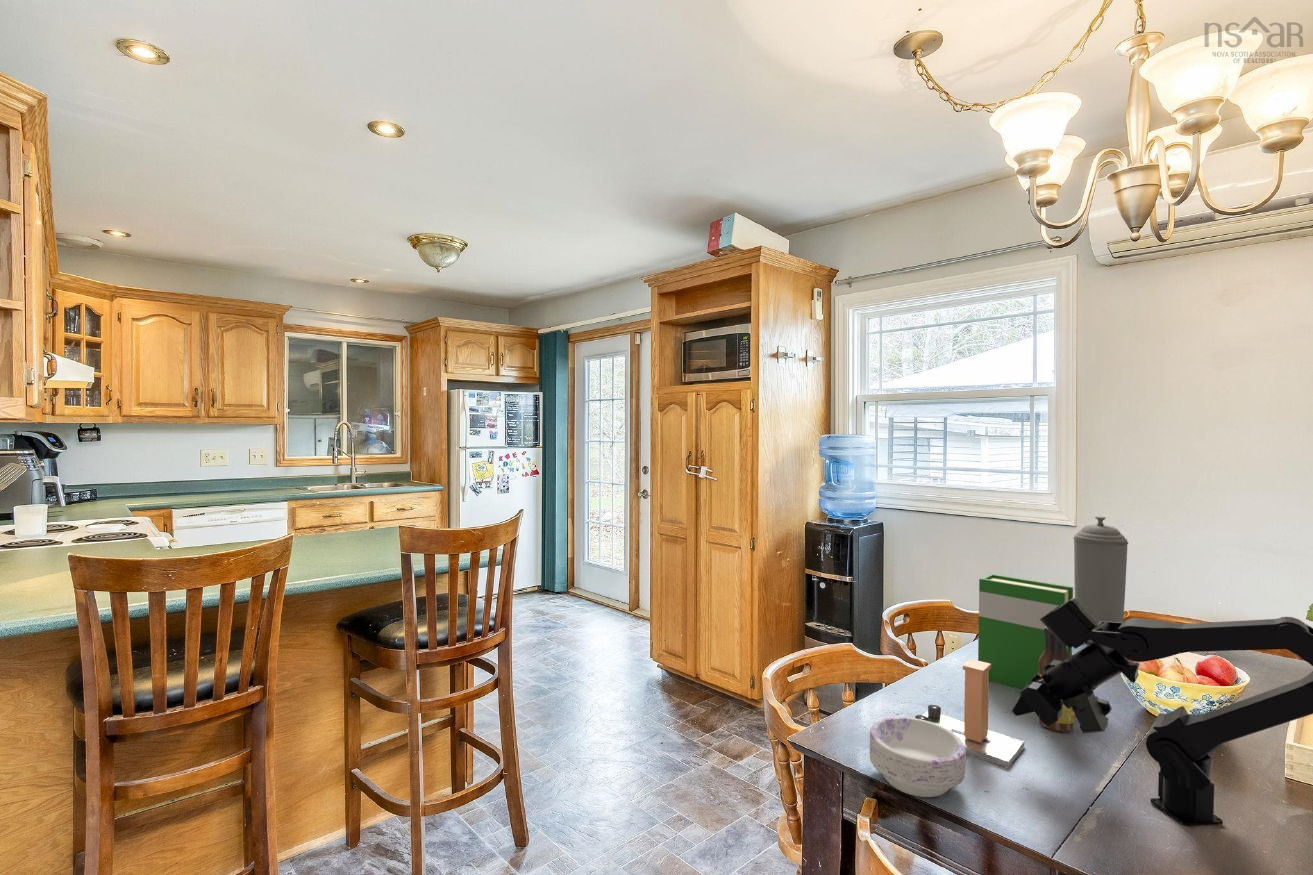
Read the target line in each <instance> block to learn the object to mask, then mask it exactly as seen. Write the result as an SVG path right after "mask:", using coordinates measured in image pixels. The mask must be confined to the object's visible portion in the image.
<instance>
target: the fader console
mask: <svg viewBox="0 0 1313 875" xmlns="http://www.w3.org/2000/svg"><path fill="white" fill-rule="evenodd" d="M915 718H916V719H921V720H925V721H929V722H932V723H935V724H938V725H940V726H942V727H944V728H946V729H948V730H950V731H952V732H953V733H954V734H956V735H957V736H958V737H959V738H960V739H961V740H962V741H963V743H964V745H965V747H966V755H969V754H970V755H969V756H972V757H975V756H976V758H978V759H981V760H984V761H987V762H990V763H992V764H996V765H997V766H998V765H999V766H1002V767H1005V768H1006V769H1007V768H1008V769H1009V768H1010V766H1011V765H1012V764H1013V763H1014V761H1015V760H1016V759H1017V757H1019V755H1020V754H1021V752H1022V751H1023V750H1024V748H1025V740H1023V739H1022V740H1021V739H1018V738H1015V737H1012V736H1010V735H1009V736H1008V735H1006V734H1002V733H999V732H996V731H993V730H990V729H988V736H987V737H986V738H985V739H984V740H983V741H982V742H981V743H980V742H977V741H974V740H971V739H968V738H965V737H964V721H961V720H959V719H956V718H952V717H950V716H946V715H943V714H942V708H941V707H940V706H939V705H936V704H928V705H927V711H926V712H925V713H924V714H916V715H915Z"/></svg>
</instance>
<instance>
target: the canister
mask: <svg viewBox="0 0 1313 875" xmlns="http://www.w3.org/2000/svg"><path fill="white" fill-rule="evenodd" d="M1094 519H1096V520H1097V523H1096V524H1087V525H1085V526H1084V527H1081V529H1080V530H1078V531H1077V533H1075V534H1074V536H1073V540H1074V541H1073V544H1074V545H1073V550H1074V552H1073V554H1074V556H1073V560H1074V561H1073V563H1074V565H1073V566H1074V568H1073V569H1074V571H1073V572H1074V576H1073V577H1074V581H1073V582H1074V598H1075V599H1076V600H1077V601H1078V602H1079V603H1080V605H1081V606H1082V608H1083V609H1084V610H1085V611H1086V612H1087V613H1088V614H1089V615H1090V616H1091V617H1092V618H1093V619H1094V620H1095V621H1096V623H1097V624H1098V623H1099V622H1100V621H1108V622H1124V621H1125V620H1124V618H1125V615H1124V614H1125V603H1126V601H1125V600H1126V585H1127V584H1126V582H1127V581H1126V580H1127V564H1128V563H1127V562H1128V545H1129V541H1128V538H1126V537H1125V535H1123V534H1122V533H1121V532H1120V530H1118V528H1116V527H1113V526H1111V525H1105V524H1104V521H1105V520H1106V517H1105V516H1099V515H1098V516H1095V517H1094ZM1086 643H1090V644H1092V643H1093V641H1092V640H1091V639H1090V640H1089V641H1087V642H1086Z"/></svg>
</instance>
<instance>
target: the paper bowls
mask: <svg viewBox="0 0 1313 875" xmlns="http://www.w3.org/2000/svg"><path fill="white" fill-rule="evenodd" d="M966 755H967V754H966V747H965V745H964V743H963V741H962V740H961V739H960V738H959V737H958V736H957V735H956V734H954V733H953V732H952V731H950V730H948V729H946V728H944V727H942V726H940V725H938V724H935V723H932V722H929V721H925V720H921V719H916V718H914V717H907V716H906V717H905V716H893V717H886V718H883V719H879V720H878V721H876V722H874V723H873V724H872V726H871V727H870V731H869V761H870V762H871V764H872V766H873V768H875V769H876V771H878V772H879V773H880V774H881V775H882V776H883V777H884V778H885V780H886V782H888V783H889V785H891V786H892V787H894V788H895V790H898V791H900V792H902V793H905V794H907V795H910V796H914V797H920V798H935V797H940V796H942V795H944V794H946V793H947V792H948V791H950V790H949V789H952V788H955V787H958V786H959V785H960V784H961V783H962V782H964V780H965V775H966V766H967V764H966V763H967V762H966V761H967V756H966Z"/></svg>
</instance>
